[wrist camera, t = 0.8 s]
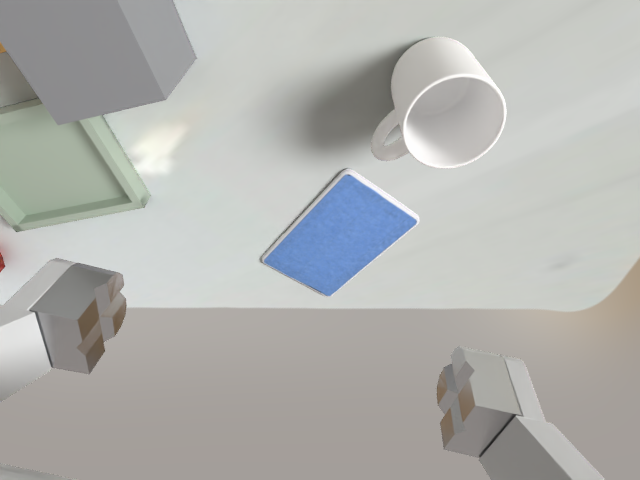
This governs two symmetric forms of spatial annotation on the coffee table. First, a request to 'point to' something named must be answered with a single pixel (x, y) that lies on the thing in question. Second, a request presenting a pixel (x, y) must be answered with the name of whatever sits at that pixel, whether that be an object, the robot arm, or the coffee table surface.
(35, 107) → the tray
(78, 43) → the block
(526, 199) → the coffee table surface
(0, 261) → the red bumpy oval lump
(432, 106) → the mug
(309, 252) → the tablet computer
